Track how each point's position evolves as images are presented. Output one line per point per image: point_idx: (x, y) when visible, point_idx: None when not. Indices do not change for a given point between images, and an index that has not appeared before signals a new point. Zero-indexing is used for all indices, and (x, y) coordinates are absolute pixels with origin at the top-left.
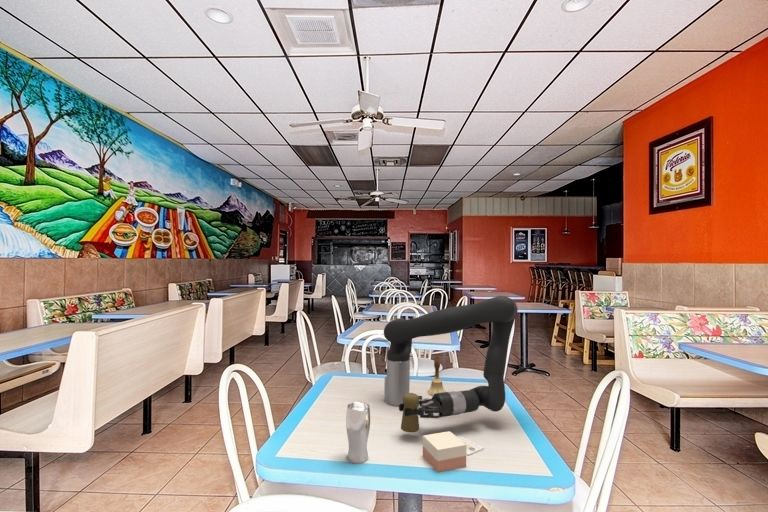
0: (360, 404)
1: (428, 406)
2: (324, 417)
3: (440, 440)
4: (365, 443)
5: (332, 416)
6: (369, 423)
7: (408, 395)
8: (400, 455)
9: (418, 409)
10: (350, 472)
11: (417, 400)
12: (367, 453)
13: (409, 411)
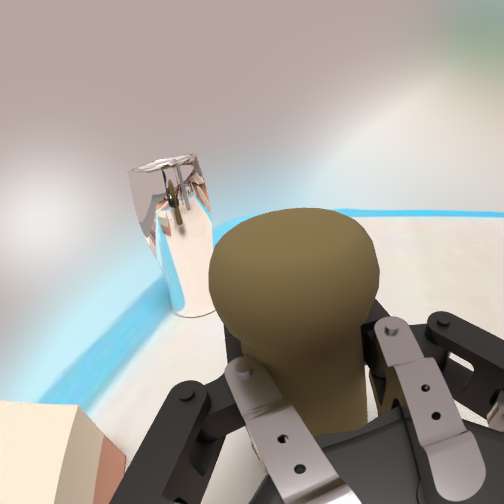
0: (191, 164)
1: (267, 487)
2: (428, 235)
3: (10, 444)
4: (163, 271)
5: (441, 243)
6: (145, 221)
7: (257, 217)
8: (166, 392)
9: (226, 381)
10: (149, 292)
11: (224, 307)
12: (182, 304)
13: (224, 327)
